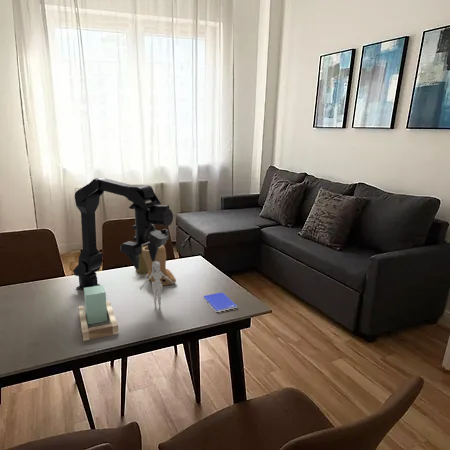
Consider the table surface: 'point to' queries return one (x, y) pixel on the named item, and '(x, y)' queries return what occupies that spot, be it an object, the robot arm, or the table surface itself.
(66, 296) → the table surface
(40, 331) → the table surface
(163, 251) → the tan hollow piece
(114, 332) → the chute
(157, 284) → the human figurine
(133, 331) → the table surface
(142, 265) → the cork
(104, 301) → the sage block
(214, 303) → the hard drive
